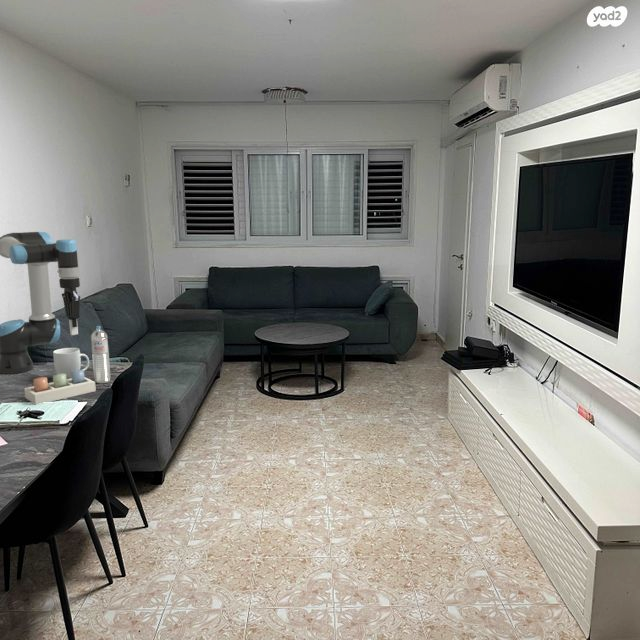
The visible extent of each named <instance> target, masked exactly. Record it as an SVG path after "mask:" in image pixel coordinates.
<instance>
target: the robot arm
mask: <svg viewBox="0 0 640 640" xmlns="http://www.w3.org/2000/svg"><path fill="white" fill-rule="evenodd" d="M0 256H1V257H3V258H5V259H10V262H11V263H12V264H14V265H24V264H26V265H27V274H28V275H27V276H28V285H29V296H30V297H29V298H30V306H31V307H30V309H31V314H30V316H29V317H28V321H25V319H13V320H8V321H5V322H2V323H0V374H1V375H9V374H10V375H13V374H14V375H15V374H19V373H25V372H29V371H30V370H33V369H34V363H33V360H32V359H31V356H30V355H29V352H28V347H33V346H41V345H46V344H47V345H49V344H53V343H57V341H58V340H60V336H61V324H60V320H59V319H58V318H56V315H55V314H53V312H52V303H51V291H50V290H51V289H50V277H49V264H50V263H57V268H58V270H57V273H58V276H59V279H58V280H59V288H61V289H63V293H61V297H62V300H63V305H64V311H65V317H67V318H68V323H69V333H70V334H69V335H70V336H76V335H79V325H78V324H79V323H78V319H79V318H80V303H81V302H80V301H81V296H80V295H78V292H77V288H80V287H81V283H80V281H81V280H80V278H79V277H80V270H79V269H80V268H79V260H78V247H77V242H76V240H75V239H68V238H67V239H65V238H64V239H57V240H56V241H55V242H54V241H53V239H52V237H51V235H50V234H49V233H48V232H45V231H28V232H27V231H26V232H10V233H6V234H3V235H1V236H0Z"/></svg>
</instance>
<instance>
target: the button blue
mask: <svg viewBox="0 0 640 640" xmlns="http://www.w3.org/2000/svg"><path fill="white" fill-rule="evenodd" d="M71 376H72V384H78V383H83V382H85V377H86V376H85V371H84V370H82V369H80V370H74V371H72V372H71Z"/></svg>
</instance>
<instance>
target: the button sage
mask: <svg viewBox="0 0 640 640" xmlns="http://www.w3.org/2000/svg"><path fill="white" fill-rule="evenodd" d="M52 381H53V384H54V388H60V387H65V386H67V380H66V374H64V373H59V374H57V373H55V374H52Z"/></svg>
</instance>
